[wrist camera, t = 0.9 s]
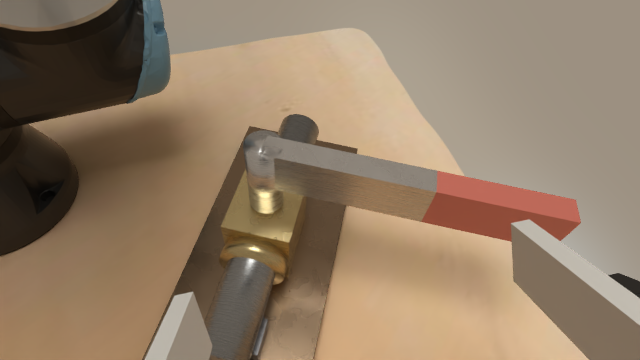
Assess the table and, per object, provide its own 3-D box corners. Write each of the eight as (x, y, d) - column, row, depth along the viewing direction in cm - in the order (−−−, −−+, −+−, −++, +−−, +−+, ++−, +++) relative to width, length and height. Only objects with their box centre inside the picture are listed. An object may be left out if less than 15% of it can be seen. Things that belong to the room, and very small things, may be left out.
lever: (244, 209, 35) (237, 155, 29) (255, 182, 37) (250, 126, 31) (530, 273, 33) (582, 229, 27) (526, 242, 35) (574, 194, 29)
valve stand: (299, 423, 33) (303, 407, 26) (139, 381, 34) (103, 355, 27) (355, 156, 51) (366, 106, 44) (250, 134, 52) (245, 82, 45)
